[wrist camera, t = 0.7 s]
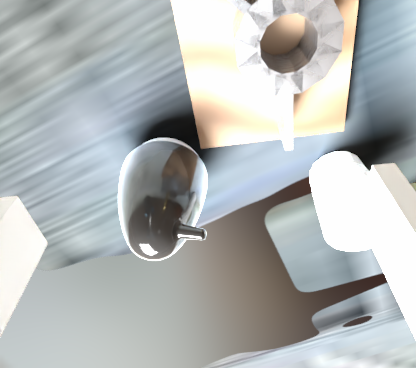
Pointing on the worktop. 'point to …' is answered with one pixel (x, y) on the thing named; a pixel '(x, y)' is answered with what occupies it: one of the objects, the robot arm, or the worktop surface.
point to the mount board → (240, 87)
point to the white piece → (291, 61)
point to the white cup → (340, 199)
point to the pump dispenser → (161, 197)
